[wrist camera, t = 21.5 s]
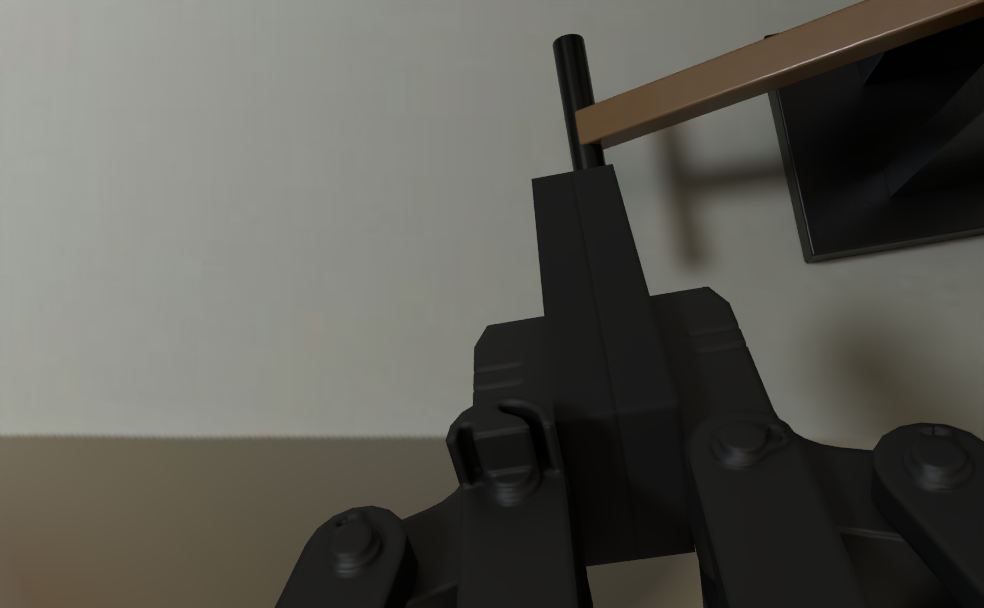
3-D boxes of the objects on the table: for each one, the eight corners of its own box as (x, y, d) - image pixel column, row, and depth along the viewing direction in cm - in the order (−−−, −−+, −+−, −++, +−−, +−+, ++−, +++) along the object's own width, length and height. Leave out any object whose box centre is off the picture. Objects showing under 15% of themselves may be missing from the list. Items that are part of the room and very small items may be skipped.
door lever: (603, 239, 26) (566, 226, 24) (572, 60, 27) (535, 33, 25) (1221, 60, 18) (1243, 20, 16) (1141, -180, 19) (1153, -246, 17)
